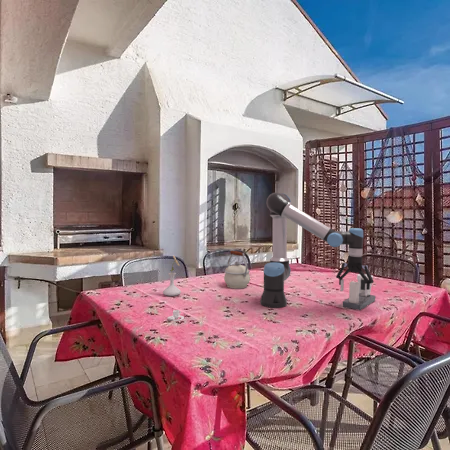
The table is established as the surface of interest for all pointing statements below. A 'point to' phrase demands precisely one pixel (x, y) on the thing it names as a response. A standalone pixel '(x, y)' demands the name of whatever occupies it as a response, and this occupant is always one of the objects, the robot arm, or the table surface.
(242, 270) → the kettle
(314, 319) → the table surface
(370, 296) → the grey and white block
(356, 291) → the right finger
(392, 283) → the table surface
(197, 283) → the table surface
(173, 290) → the flower in vase
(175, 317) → the teacup and saucer
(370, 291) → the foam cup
